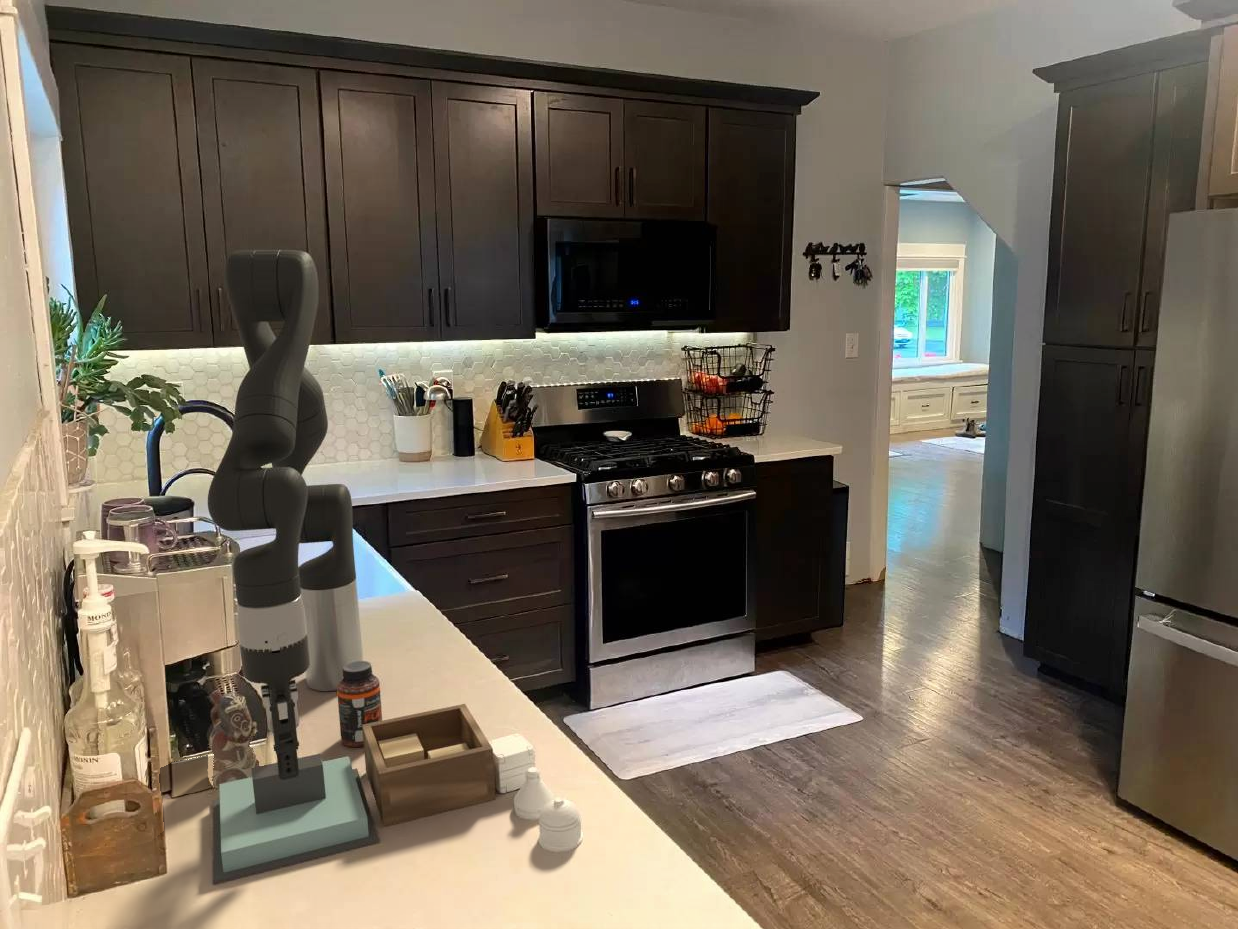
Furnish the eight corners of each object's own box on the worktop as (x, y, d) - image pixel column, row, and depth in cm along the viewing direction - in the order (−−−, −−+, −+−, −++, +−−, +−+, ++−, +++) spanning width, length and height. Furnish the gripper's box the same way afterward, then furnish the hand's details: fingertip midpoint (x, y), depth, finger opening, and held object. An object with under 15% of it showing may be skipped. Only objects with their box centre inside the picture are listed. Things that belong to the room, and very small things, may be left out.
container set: (485, 780, 123) (483, 742, 122) (522, 769, 125) (520, 731, 124) (550, 859, 106) (548, 815, 105) (590, 844, 108) (589, 801, 107)
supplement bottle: (372, 750, 131) (366, 675, 129) (333, 747, 132) (326, 673, 130) (390, 730, 137) (385, 658, 134) (353, 728, 138) (347, 656, 136)
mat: (212, 803, 118) (212, 800, 118) (357, 771, 125) (357, 768, 125) (213, 884, 102) (213, 881, 102) (379, 842, 109) (379, 839, 109)
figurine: (231, 795, 120) (220, 709, 118) (196, 781, 124) (186, 698, 121) (276, 770, 126) (267, 688, 124) (242, 757, 130) (233, 677, 127)
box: (366, 772, 125) (361, 724, 124) (467, 750, 130) (464, 703, 129) (383, 827, 112) (379, 774, 111) (495, 799, 118) (492, 748, 116)
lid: (221, 802, 118) (215, 751, 116) (350, 773, 124) (345, 725, 123) (223, 873, 104) (216, 816, 102) (368, 836, 110) (364, 782, 108)
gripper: (237, 620, 114) (251, 741, 117) (240, 662, 101) (256, 797, 104) (301, 610, 117) (312, 728, 120) (312, 650, 104) (325, 781, 107)
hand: (286, 760), depth 112 cm, fingers open, 8 cm apart
